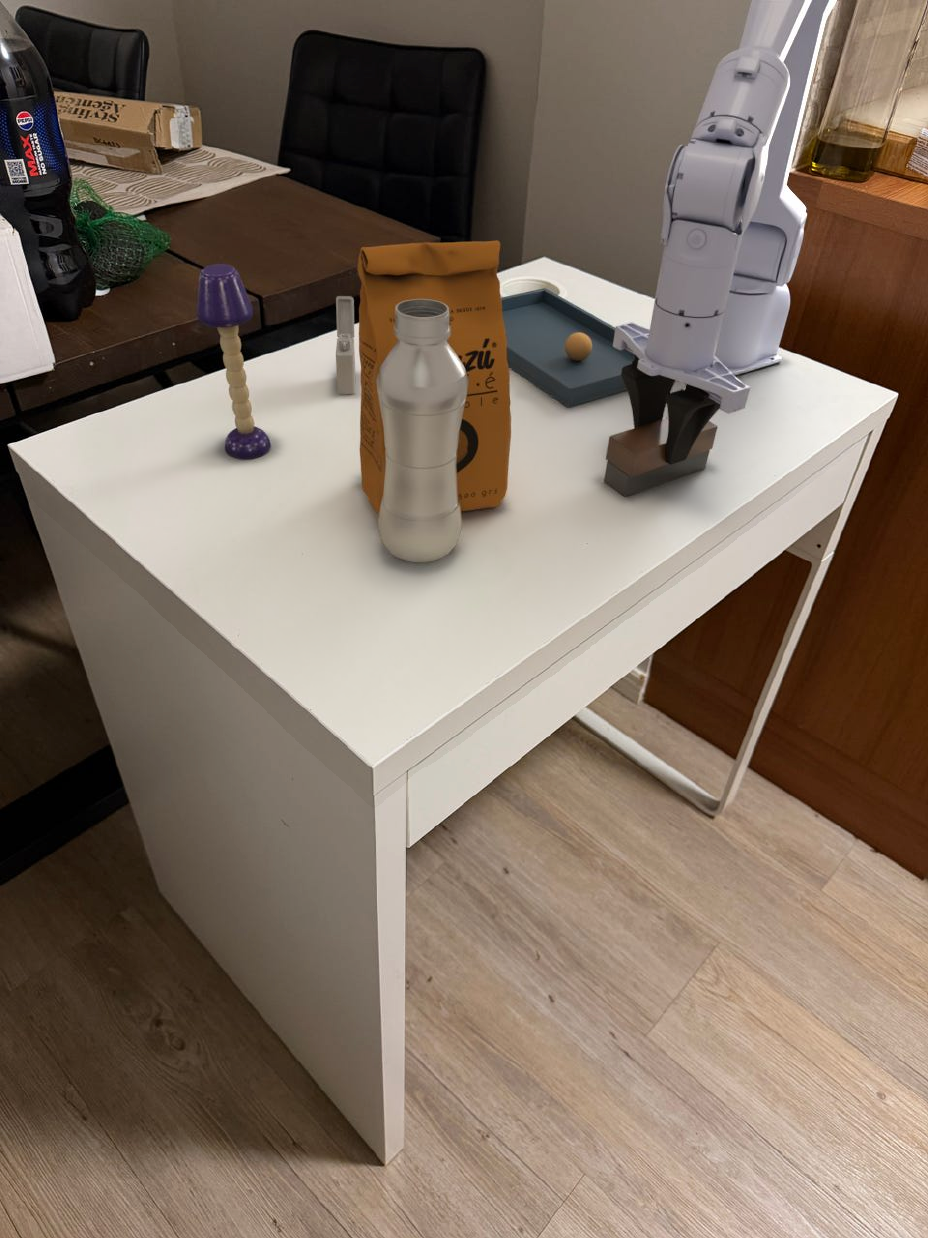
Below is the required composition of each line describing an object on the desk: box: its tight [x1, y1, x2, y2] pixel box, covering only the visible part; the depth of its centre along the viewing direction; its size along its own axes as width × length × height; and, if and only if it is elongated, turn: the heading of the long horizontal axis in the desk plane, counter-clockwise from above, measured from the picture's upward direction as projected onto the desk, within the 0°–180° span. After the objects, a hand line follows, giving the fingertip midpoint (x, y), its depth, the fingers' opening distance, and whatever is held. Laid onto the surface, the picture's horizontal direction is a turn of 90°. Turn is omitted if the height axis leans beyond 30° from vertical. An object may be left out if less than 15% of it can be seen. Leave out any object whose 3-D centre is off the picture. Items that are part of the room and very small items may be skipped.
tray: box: [501, 287, 635, 408], centre depth 105 cm, size 14×23×2 cm, turn 33°
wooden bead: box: [565, 333, 592, 361], centre depth 101 cm, size 3×3×3 cm
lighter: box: [335, 295, 356, 395], centre depth 95 cm, size 7×2×8 cm, turn 4°
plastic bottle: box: [377, 299, 468, 563], centre depth 69 cm, size 6×7×20 cm
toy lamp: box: [196, 263, 272, 460], centre depth 81 cm, size 5×5×17 cm
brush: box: [603, 417, 718, 498], centre depth 84 cm, size 10×4×5 cm, turn 123°
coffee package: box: [356, 240, 512, 516], centre depth 74 cm, size 10×12×22 cm
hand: (660, 450), depth 84 cm, fingers closed on brush, 3 cm apart
